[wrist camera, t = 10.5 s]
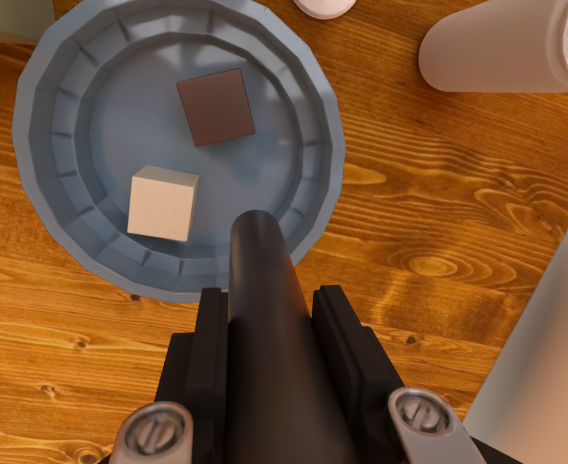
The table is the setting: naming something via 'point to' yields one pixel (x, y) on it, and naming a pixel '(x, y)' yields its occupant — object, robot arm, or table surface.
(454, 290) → the table surface
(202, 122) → the walnut block
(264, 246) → the stirring stick
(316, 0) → the chess piece
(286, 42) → the bowl
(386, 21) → the table surface
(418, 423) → the robot arm
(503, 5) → the beverage can
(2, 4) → the stand
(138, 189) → the cream block
